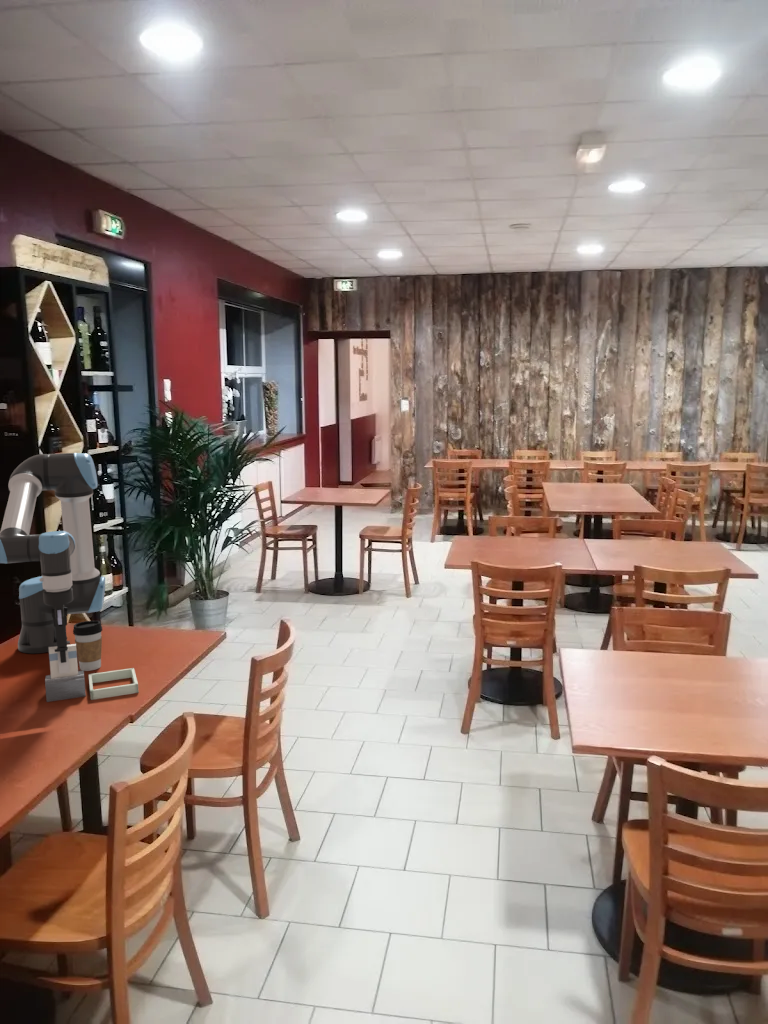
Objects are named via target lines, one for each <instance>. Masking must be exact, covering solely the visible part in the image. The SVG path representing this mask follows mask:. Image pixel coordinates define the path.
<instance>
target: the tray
mask: <svg viewBox="0 0 768 1024" xmlns="http://www.w3.org/2000/svg"><path fill="white" fill-rule="evenodd" d="M129 678H131V680H132V683H130V684H129V683H128V684H123V685H122V684H121V685H116V686H115V685H114V686H109V687H102V688H101V687H100V688H96V689H94V686H93V685H94V684H95V683H104V682H108V681H109V682H110V681H115V680H123V679H129ZM88 684H89V685H88V686H89V696H90V700H91V701H93V700H100V699H105V698H112V697H119V696H124V695H125V696H126V695H132V694H139V691H140V689H139V682H138V678H137V675H136V670H135V668H134V667H131V668H124V669H115V670H108V671H104V672H103V671H102V672H96V673H95V672H93V673H88Z"/></svg>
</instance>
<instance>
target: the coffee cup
mask: <svg viewBox="0 0 768 1024" xmlns="http://www.w3.org/2000/svg"><path fill="white" fill-rule="evenodd" d="M102 631H103V626H102V623H101V620H84V621H80V622H76V623H75V624H73V630H72V634H73V635H74V644H76V651H77V661H78V666H79V670H80V671H83V670H84V672H89V671H94V670H98V669H100V668H101V667H102V648H103V647H102V645H103V643H102V642H103V637H102Z"/></svg>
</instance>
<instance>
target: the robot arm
mask: <svg viewBox="0 0 768 1024" xmlns="http://www.w3.org/2000/svg"><path fill="white" fill-rule="evenodd" d="M7 486H8V491H9V495H8V499H7V500H8V501H7V504H6V507H5V510H4V515H3V519H2V520H3V521H2V524H1V528H0V564H5V565H6V564H16V563H26V562H27V563H29V562H40V569H41V572H40V574H41V576H40V575H39V576H37V577H31V578H30V579H26V580H24V581H23V582H21V583H20V585H19V586H18V587H19V588H18V592H19V593H18V594H19V596H18V600H19V607H20V618H21V629H20V634H19V637H18V641H17V649H18V651H19V652H21V653H24V654H43V653H49V647H54V646H57V649H55V652H57V654H58V666H59V674H62V673H69V672H70V670H69V657H68V647H67V645H70V644H71V641H70V640H68V637H67V625H68V615H75V614H90V613H95V612H96V613H97V612H100V611H101V610H102V609H103V607H104V601H105V594H106V593H105V591H106V577H105V576H103V575H102V576H101V572H100V570H99V569H97V568H96V567H95V558H94V546H93V545H94V544H93V543H94V542H93V533H92V522H91V521H92V520H91V511H90V510H91V509H90V507H91V506H90V498H91V497H92V496H93V495H94V490H95V489H97V488H98V477H97V470H96V466H95V463H94V459H93V458H92V456H91V455H90V454H89V453H86V452H85V453H84V452H83V453H82V452H67V453H65V452H64V453H48V454H47V453H42V454H40V453H39V454H36V455H35V454H34V455H33V456H30V457H28V458H27V459H25V460H23V462H21V463H20V464H19V465H18V466H17V467H16V468H14V470H13V472H12V473H11V474H10V476H9V480H8V485H7ZM42 491H54V497H56V499H58V500H59V501H60V508H61V517H62V529H63V530H58V531H57V530H54V531H46V532H42V533H40V534H30V533H31V527H32V522H33V518H34V517H33V516H34V512H35V507H36V502H37V497H39V495H40V494H41V493H42Z"/></svg>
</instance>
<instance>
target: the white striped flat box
mask: <svg viewBox="0 0 768 1024" xmlns="http://www.w3.org/2000/svg"><path fill="white" fill-rule="evenodd" d="M67 647H68V657H69V670H70V672H69V673H62V674H59V666H58V654H57V652H55V649H57V646H54V647H49V652H48V659H49V670H50V675H51V678H58V677H66V676H73V675H78V671H79V667H78V666H79V663H78V655H77V649H76V644H75V643H72V644H71V643H70V644H67Z"/></svg>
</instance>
